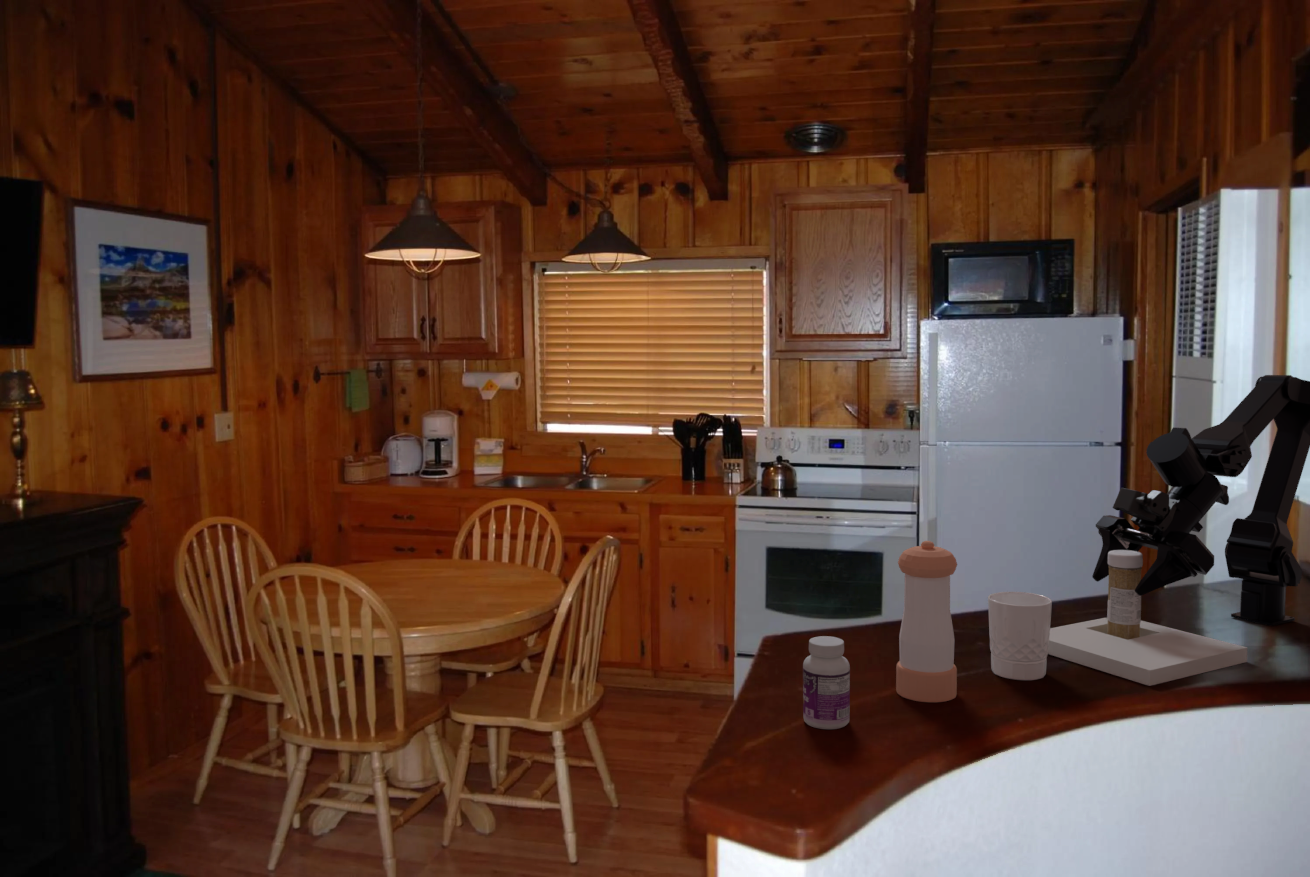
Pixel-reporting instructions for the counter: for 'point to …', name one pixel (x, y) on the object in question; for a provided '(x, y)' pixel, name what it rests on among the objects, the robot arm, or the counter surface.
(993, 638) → the white cup
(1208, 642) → the block
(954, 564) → the pepper shaker
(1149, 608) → the counter surface
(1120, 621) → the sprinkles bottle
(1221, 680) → the counter surface
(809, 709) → the pill bottle
